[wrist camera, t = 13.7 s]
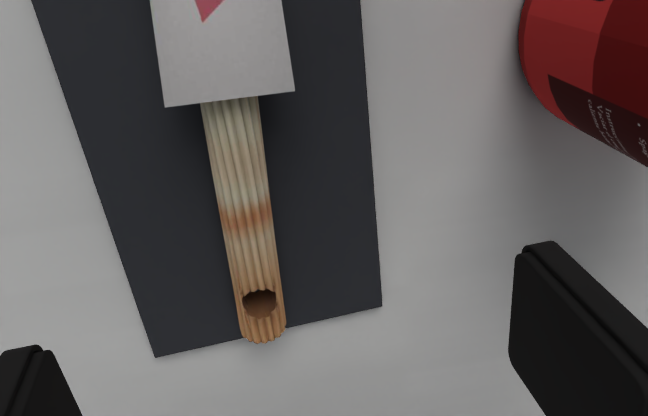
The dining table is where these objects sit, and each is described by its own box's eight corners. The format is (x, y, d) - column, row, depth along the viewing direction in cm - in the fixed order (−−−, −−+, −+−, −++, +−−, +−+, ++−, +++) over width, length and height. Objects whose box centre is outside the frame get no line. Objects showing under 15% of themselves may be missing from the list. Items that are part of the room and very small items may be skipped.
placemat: (-84, -347, 13) (-93, -354, 13) (329, -370, 14) (333, -377, 14) (155, 351, 24) (154, 358, 23) (380, 301, 25) (382, 306, 24)
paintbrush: (261, -364, 11) (313, 343, 22) (248, -322, 14) (301, 299, 24) (65, -368, 11) (214, 362, 21) (86, -324, 13) (211, 315, 23)
